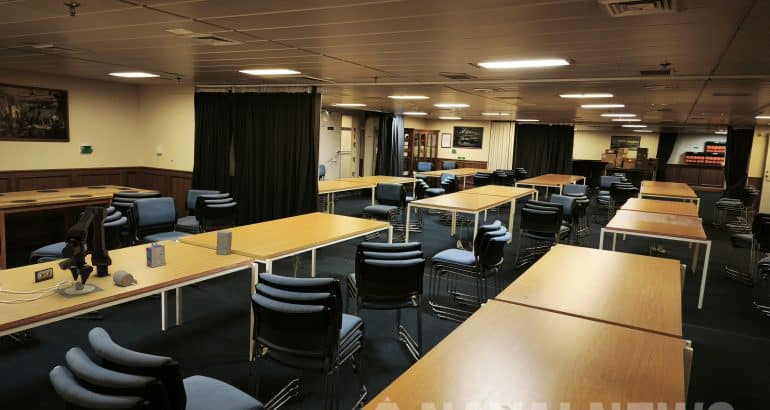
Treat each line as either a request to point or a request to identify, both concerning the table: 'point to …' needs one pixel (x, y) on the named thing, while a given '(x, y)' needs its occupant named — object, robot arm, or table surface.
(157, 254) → the ink cartridge box
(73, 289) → the round lid
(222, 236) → the skincare box
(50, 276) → the audio cassette
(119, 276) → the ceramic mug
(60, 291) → the rubber mat
